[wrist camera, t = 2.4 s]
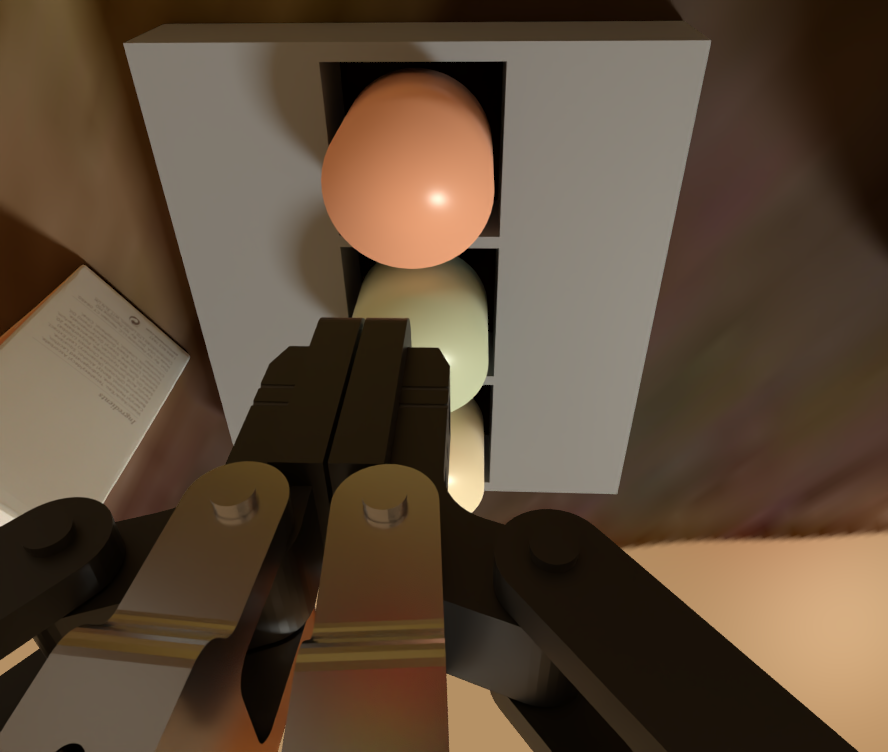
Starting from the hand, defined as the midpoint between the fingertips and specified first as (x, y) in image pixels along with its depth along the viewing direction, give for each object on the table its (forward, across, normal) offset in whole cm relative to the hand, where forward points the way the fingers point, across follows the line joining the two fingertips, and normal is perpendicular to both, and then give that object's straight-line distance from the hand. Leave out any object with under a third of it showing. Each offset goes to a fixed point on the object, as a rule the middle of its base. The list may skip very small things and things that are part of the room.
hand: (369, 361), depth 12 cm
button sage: (+11, 0, +5) cm, 12 cm away
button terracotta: (+11, 0, 0) cm, 11 cm away
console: (+14, 0, +5) cm, 15 cm away
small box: (+14, +15, +10) cm, 22 cm away
